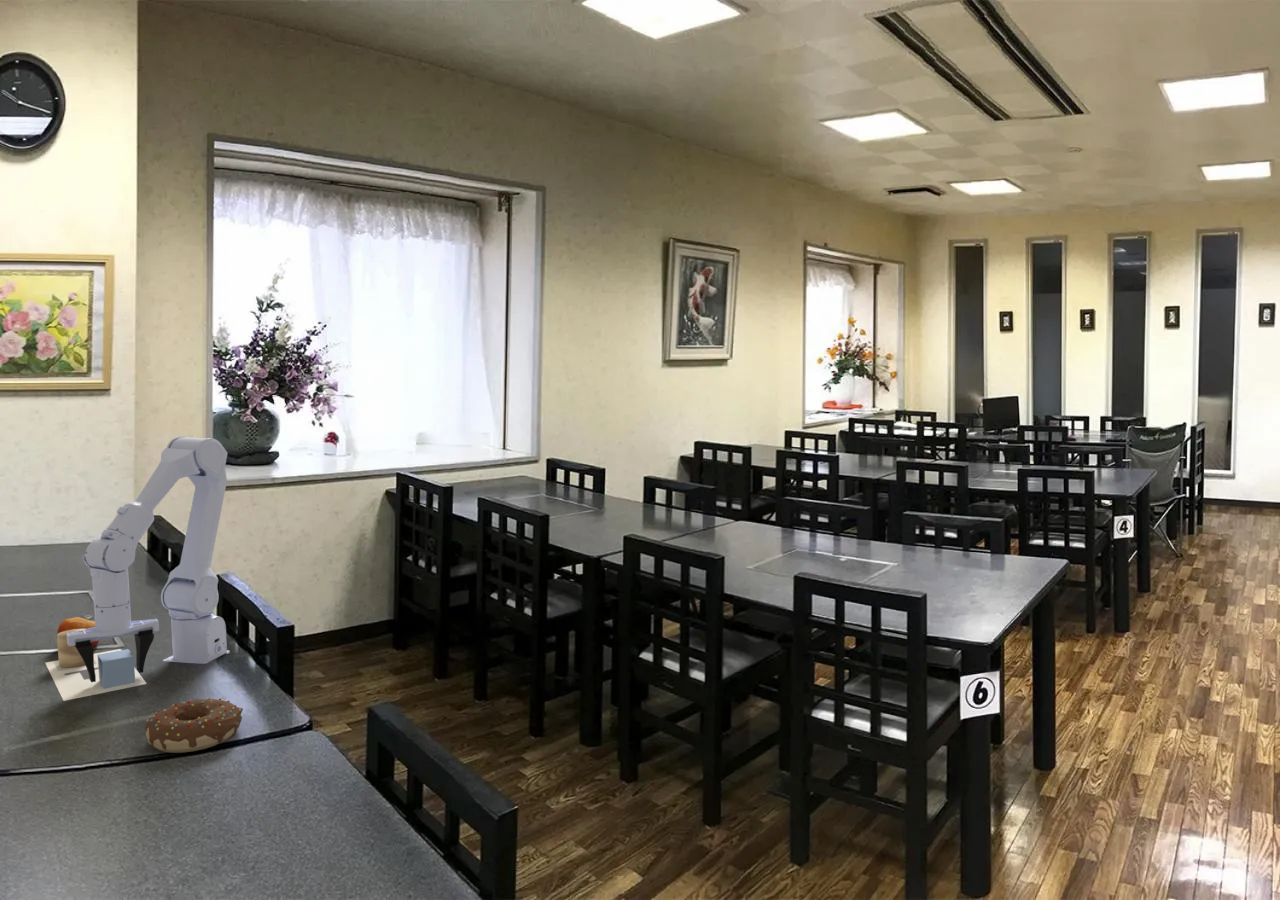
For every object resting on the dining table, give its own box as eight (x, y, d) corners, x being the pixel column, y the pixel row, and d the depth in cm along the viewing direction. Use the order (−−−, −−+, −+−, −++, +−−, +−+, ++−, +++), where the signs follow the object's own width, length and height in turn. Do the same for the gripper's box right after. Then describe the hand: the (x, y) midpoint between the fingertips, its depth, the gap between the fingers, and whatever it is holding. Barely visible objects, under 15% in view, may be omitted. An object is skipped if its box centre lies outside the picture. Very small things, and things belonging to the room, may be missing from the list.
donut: (154, 767, 136) (152, 734, 135) (140, 735, 147) (138, 705, 146) (255, 742, 144) (254, 711, 144) (235, 714, 155) (233, 686, 155)
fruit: (38, 648, 184) (57, 610, 187) (74, 658, 191) (91, 621, 194) (62, 655, 181) (81, 615, 183) (97, 664, 187) (115, 626, 190)
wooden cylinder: (89, 656, 182) (87, 627, 181) (93, 663, 178) (91, 633, 177) (57, 662, 179) (55, 632, 178) (60, 669, 174) (58, 638, 174)
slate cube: (129, 674, 172) (128, 649, 171) (135, 682, 168) (133, 655, 167) (99, 681, 169) (97, 654, 168) (104, 688, 165) (102, 661, 164)
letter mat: (120, 651, 187) (120, 648, 187) (147, 686, 167) (146, 683, 167) (45, 665, 179) (45, 662, 179) (63, 704, 159) (63, 700, 159)
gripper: (151, 592, 174) (155, 661, 176) (62, 605, 165) (67, 678, 167) (159, 600, 169) (164, 671, 170) (68, 614, 160) (73, 689, 161)
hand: (116, 675), depth 168 cm, fingers open, 7 cm apart
